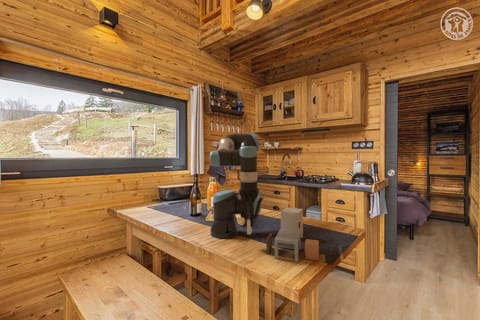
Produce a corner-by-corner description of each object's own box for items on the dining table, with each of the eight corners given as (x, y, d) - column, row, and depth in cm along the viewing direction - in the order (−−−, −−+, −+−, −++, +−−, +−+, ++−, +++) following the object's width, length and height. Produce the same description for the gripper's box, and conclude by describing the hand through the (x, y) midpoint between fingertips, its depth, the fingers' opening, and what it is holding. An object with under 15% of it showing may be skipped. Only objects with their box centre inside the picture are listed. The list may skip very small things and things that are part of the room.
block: (305, 258, 89) (305, 243, 89) (306, 253, 94) (305, 239, 94) (318, 260, 87) (318, 245, 87) (318, 254, 92) (318, 240, 92)
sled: (266, 257, 94) (266, 238, 93) (270, 250, 100) (270, 232, 100) (325, 265, 86) (325, 245, 85) (325, 257, 92) (325, 238, 92)
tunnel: (274, 262, 89) (274, 239, 89) (280, 248, 102) (280, 228, 101) (297, 265, 86) (297, 242, 86) (300, 251, 98) (300, 230, 98)
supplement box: (298, 244, 107) (297, 212, 106) (280, 240, 112) (279, 210, 111) (303, 237, 114) (303, 208, 114) (286, 234, 119) (286, 206, 119)
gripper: (231, 181, 98) (233, 234, 99) (260, 182, 93) (261, 238, 94) (238, 179, 105) (238, 228, 106) (265, 180, 100) (265, 231, 101)
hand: (249, 233), depth 100 cm, fingers closed
